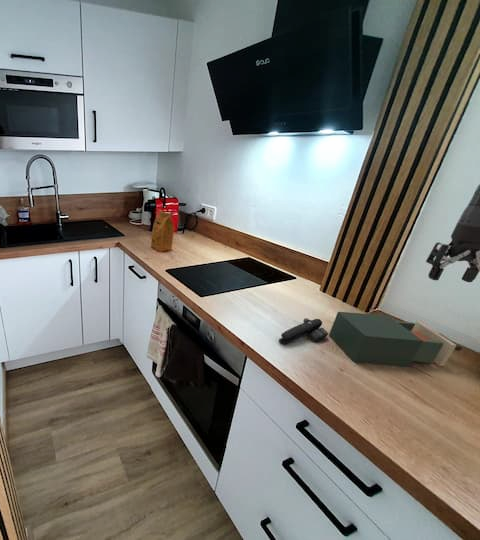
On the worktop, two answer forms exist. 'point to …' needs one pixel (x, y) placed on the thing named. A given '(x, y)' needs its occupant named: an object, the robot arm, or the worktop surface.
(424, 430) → the worktop surface
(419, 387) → the worktop surface
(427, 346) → the drawer
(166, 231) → the coffee package
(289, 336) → the can opener
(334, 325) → the cabinet
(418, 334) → the block
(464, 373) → the worktop surface
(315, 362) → the worktop surface
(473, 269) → the robot arm
